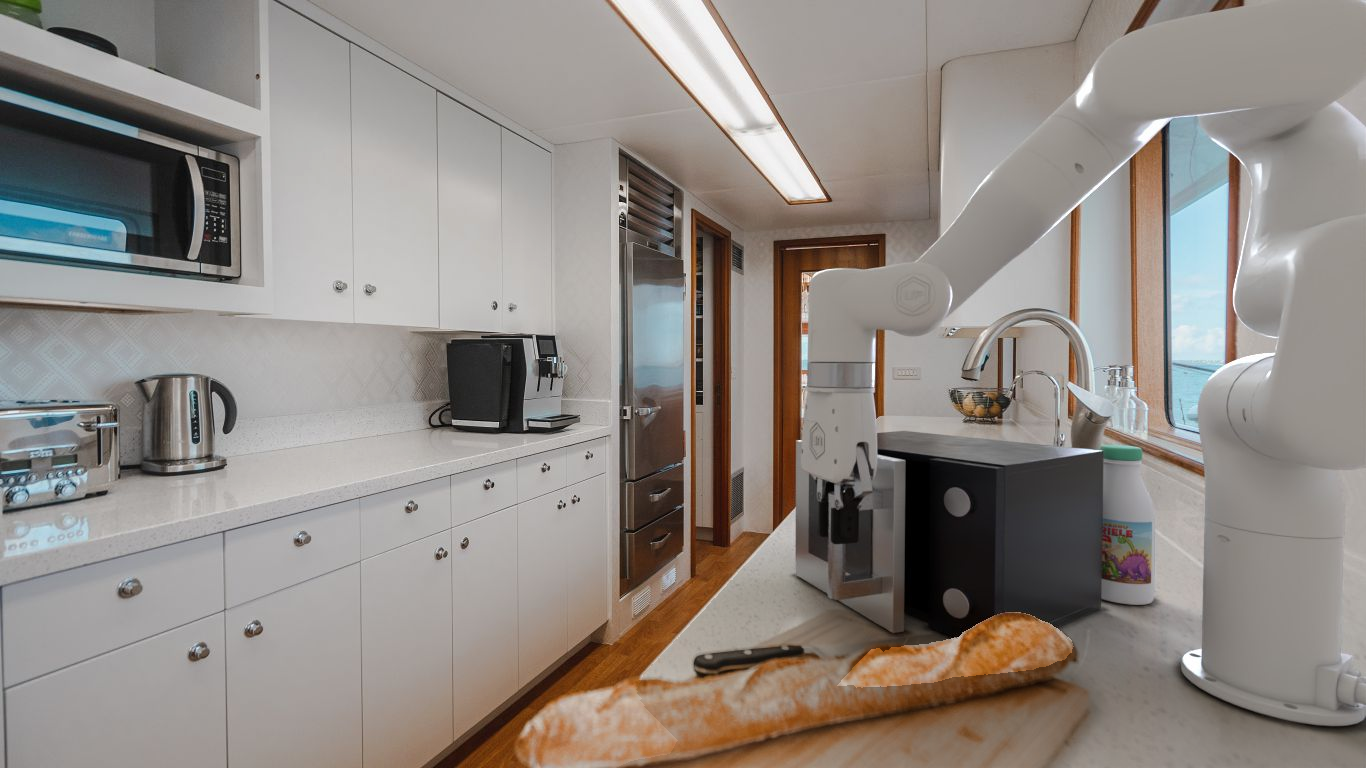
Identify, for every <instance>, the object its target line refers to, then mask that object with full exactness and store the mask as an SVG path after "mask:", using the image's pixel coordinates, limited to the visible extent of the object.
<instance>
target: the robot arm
mask: <svg viewBox="0 0 1366 768" xmlns="http://www.w3.org/2000/svg"><path fill="white" fill-rule="evenodd" d="M1365 80H1366V0H1269V1H1263V2H1258V3H1251V4H1248V5H1242V6H1236V7H1231V8H1225V9H1220V10H1215V11H1210V12H1209V11H1208V12H1204V13H1199V14H1194V15H1188V16H1184V17H1178V18H1174V19H1170V20H1165V21H1161V22H1157V23H1154V24H1151V25H1147V26H1145V27H1141V28H1138V29H1136V30H1133V31H1130V32H1128V33H1127V34H1125V35H1123V36H1121V37H1119V38H1117V39H1116V40H1114V41H1113V42H1112V43H1111V44H1110V45H1108V46H1107V47H1105V49H1104V50H1103V51H1102V52H1101V53H1100V55H1099V56H1098V57H1097V59H1096V60H1095V62H1094V64H1093V65H1092V67H1091V68H1090V71H1089V72H1088V73H1087V75H1086V77H1085V78H1084V80H1083V82H1082V83H1081V84H1080V85H1079V86H1078V87H1077V89H1076V90H1074V92H1072V94H1071V95H1070V96H1069V97H1067V99H1066V100H1065V101H1063V103H1062V104H1061V105H1059V106H1058V107H1057V109H1055V110H1054V111H1053V112H1052V113H1051V114H1050V115H1049V116H1048V117H1047V118H1046V119H1045V120H1043V122H1042V123H1041V124H1040V125H1039V126H1038V127H1037V128H1036V129H1034V130H1033V132H1031V133H1030V134H1029V135H1028V136H1027V137H1026V138H1025V139H1024V140H1022V142H1021V143H1020V144H1019V145H1018V146H1017V147H1016V148H1015V149H1014V150H1013V151H1011V152H1010V153H1009V154H1008V155H1007V156H1006V157H1005V158H1004V159H1003V160H1002V161H1001V162H999V164H997V165H996V166H995V167H994V168H993V169H992V170H991V171H990V172H989V173H988V175H987V176H986V177H985V178H984V179H983V181H981V183H980V184H979V185H978V186H977V188H976V189H975V190H974V192H973V194H972V195H971V197H970V198H969V199H968V201H967V202H966V204H965V206H964V207H963V209H962V211H961V212H960V213H959V214H958V216H957V217H956V218H955V220H954V221H953V222H952V223H951V224H950V226H949V227H948V228H947V229H946V231H944V233H942V235H940V237H939V238H938V239H937V240H936V241H935V242H934V243H933V244H932V245H931V246H930V247H929V248H928V249H927V250H925V252H924V253H923V254H922V255H921V256H919V257H918V259H917V260H915V261H909V262H908V261H907V262H902V263H896V264H891V265H884V266H879V267H873V268H872V267H871V268H867V269H866V268H865V269H862V268H849V267H843V268H831V269H824V270H820V271H818V272H816V273H814V274H813V275H811V276H812V277H811V278H810V280H809V283H808V300H807V301H808V305H807V306H808V307H807V309H808V312H807V315H808V316H807V360H806V361H807V364H806V365H807V370H806V373H807V374H806V397H805V403H804V410H803V419H802V431H801V440H802V444H801V466H802V468H803V470H804V471H806V472H807V473H809V474H811V475H812V477H813V478H814V480H815V483H816V485H817V499H818V501H822V502H819V513H818V534H819V535H820V536H821V537H828V493H829V492H834V504H835V508H831V542H832V543H833V544H849V543H857V542H858V539H859V509H860V508H861V506H862V499H863V498H864V497H865V496H867V495H869V494H871V493H872V492H873V487H872V482H871V481H872V480H873V479H874V477H875V475H876V469H877V433H878V429H877V414H876V413H877V412H876V404H875V396H874V393H876V355H877V353H876V351H877V350H876V349H877V330H881V331H893V332H895V333H896V334H898V335H900V336H905V337H921V336H924V335H927V334H929V333H931V332H933V331H934V330H936V328H938V327H939V326H940V325H941V324H942V323H943V322H945V320H946V319H948V318H949V317H950V316H951V315H952V314H954V312H955V311H957V310H958V309H959V308H960V307H961V306H962V305H963V304H964V303H965V302H966V301H968V300H969V299H970V298H971V297H972V296H973V295H974V294H975V293H976V292H978V290H980V289H981V288H982V287H983V286H984V285H985V284H986V283H987V282H989V281H990V280H991V279H992V278H993V277H994V276H995V275H997V273H999V272H1000V271H1001V270H1002V269H1004V267H1006V266H1007V265H1009V263H1011V262H1012V261H1013V260H1015V259H1016V258H1017V257H1019V256H1020V255H1022V254H1023V253H1025V252H1026V251H1027V250H1029V249H1030V248H1032V246H1034V245H1035V244H1036V243H1037V242H1039V241H1040V240H1041V239H1042V238H1043V237H1045V236H1046V234H1047V233H1048V232H1050V231H1051V230H1052V229H1054V227H1055V226H1057V225H1058V224H1059V223H1060V222H1061V221H1062V220H1063V219H1064V218H1065V217H1066V216H1068V214H1070V213H1071V212H1072V211H1073V210H1075V208H1076V207H1078V205H1079V204H1081V203H1082V202H1083V201H1084V200H1085V199H1086V198H1087V197H1088V196H1089V195H1090V194H1092V193H1093V192H1094V191H1095V190H1097V188H1098V187H1100V186H1101V185H1102V184H1103V183H1104V182H1105V181H1106V180H1108V179H1109V177H1111V176H1112V175H1113V174H1114V173H1116V172H1117V170H1118V169H1120V168H1121V167H1122V166H1124V164H1126V162H1127V161H1129V160H1130V159H1131V158H1133V156H1134V155H1135V154H1137V153H1138V152H1139V151H1140V150H1141V149H1142V148H1143V147H1144V146H1145V145H1146V144H1148V143H1149V142H1150V141H1151V140H1152V139H1153V138H1154V137H1155V136H1157V134H1158V133H1159V132H1160V131H1161V130H1162V129H1163V128H1164V127H1165V126H1166V125H1167V124H1168V123H1169V122H1171V120H1172V119H1177V118H1186V117H1196V116H1197V121H1198V124H1199V126H1200V128H1201V129H1202V131H1203V132H1204V134H1205V135H1206V136H1207V137H1208V138H1209V139H1210V140H1211V141H1213V142H1214V143H1216V144H1217V145H1218V146H1220V147H1222V148H1224V149H1225V150H1227V152H1228V153H1231V154H1232V155H1233V156H1234V157H1236V158H1237V159H1238V160H1239V162H1240V163H1241V164H1242V165H1243V167H1244V168H1245V170H1246V172H1247V173H1248V176H1249V180H1250V188H1251V192H1250V203H1249V212H1248V220H1247V224H1246V229H1245V233H1244V238H1243V244H1242V247H1241V248H1242V249H1241V253H1240V258H1239V262H1238V267H1237V272H1236V277H1235V281H1234V285H1233V291H1232V304H1233V309H1234V312H1235V314H1236V316H1237V318H1238V320H1240V322H1241V323H1242V324H1243V325H1244V326H1245V327H1246V328H1247V329H1249V330H1250V331H1253V332H1254V333H1257V334H1258V335H1262V336H1264V337H1268V338H1274V339H1277V341H1276V345H1275V352H1272V353H1271V352H1270V353H1269V352H1268V353H1259V354H1253V355H1248V356H1244V357H1241V358H1238V359H1235V360H1233V361H1231V362H1229V363H1226V364H1224V365H1223V366H1222V367H1220V368H1219V369H1217V370H1216V371H1215V372H1214V373H1213V374H1212V375H1211V376H1210V377H1209V378H1208V380H1207V381H1206V382H1205V384H1204V385H1203V387H1202V389H1201V392H1200V394H1199V398H1198V403H1197V427H1198V433H1199V440H1200V445H1201V452H1202V460H1203V471H1204V472H1203V473H1204V517H1203V562H1202V564H1203V565H1202V607H1201V608H1202V611H1201V612H1202V614H1201V648H1200V649H1193V650H1190V651H1187V652H1185V653H1184V654H1182V655H1181V658H1180V667H1181V668H1180V669H1181V672H1182V674H1183V675H1184V677H1185V678H1186V679H1187V680H1189V681H1190V683H1192V684H1194V686H1196V687H1198V688H1199V689H1201V690H1202V691H1204V692H1206V693H1208V694H1210V695H1211V696H1213V697H1216V698H1218V699H1219V700H1222V701H1224V702H1227V703H1229V704H1231V705H1234V706H1237V707H1239V708H1242V709H1246V710H1248V711H1252V712H1255V713H1257V714H1260V715H1263V716H1264V715H1265V716H1268V717H1272V718H1275V719H1279V720H1286V721H1289V722H1295V723H1298V724H1299V723H1300V724H1305V725H1312V726H1322V727H1323V726H1324V727H1346V726H1347V727H1348V726H1352V725H1357V724H1359V723H1361V722H1363V721H1364V720H1365V718H1366V676H1364V675H1362V674H1361V671H1359V670H1356V669H1353V663H1354V661H1353V660H1354V658H1353V657H1354V656H1353V655H1351V654H1347V653H1344V652H1342V643H1343V641H1342V638H1343V604H1344V603H1343V602H1344V601H1343V600H1344V599H1343V598H1344V566H1345V565H1344V562H1345V560H1344V559H1345V535H1346V504H1345V495H1344V490H1343V485H1342V481H1341V477H1340V473H1339V471H1355V470H1360V469H1366V126H1365V124H1364V123H1363V122H1362V121H1360V120H1359V119H1358V118H1357V116H1355V115H1354V114H1353V113H1351V112H1350V111H1349V110H1348V109H1347V108H1345V107H1344V106H1343V105H1342V104H1340V103H1339V102H1337V101H1338V100H1340V99H1341V98H1343V97H1345V96H1346V95H1347V94H1348V93H1350V92H1352V90H1354V89H1355V88H1357V87H1358V86H1359V85H1361V84H1362V83H1363V82H1364V81H1365ZM849 476H850V477H853V479H852V480H843V479H848V478H849ZM850 486H852V487H851V488H847V489H846V491H845V492H844V487H850Z"/></svg>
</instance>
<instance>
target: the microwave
mask: <svg viewBox="0 0 1366 768" xmlns="http://www.w3.org/2000/svg"><path fill="white" fill-rule="evenodd" d="M877 455H882V456H887V457H892V458H897V459H902V460H905V461H906V468H905V579H904V614H907V615H910V616H913V617H915V618H918V619H920V620H922V621H925V622H928V623H927V624H928V625H927V627H928V628H931V629H933V630H935V631H938V632H939V633H942V634H946V635H948V636H951V637H952V638H956V639H958V638H957V637H959V636H960V635H961V634H962V632H964V631H966V630H968V629H970V628H972V627H973V626H975V625H976V624H978V623H980V622H982V621H984V620H986V619H988V618H990V617H992V616H994V615H997V614H1000V613H1005V612H1021V613H1026V614H1030V615H1032V616H1035V617H1036V618H1038V619H1040V620H1042V621H1045V622H1048V623H1050V624H1052V625H1053V626H1054V627H1056V628H1055V629H1057V628H1060V627H1062V626H1064V625H1067V624H1069V623H1071V622H1073V621H1075V620H1078V619H1081V618H1083V617H1085V616H1088V615H1090V614H1092V613H1094V612H1096V611H1099V610H1101V609H1102V599H1101V585H1102V525H1103V465H1104V459H1103V458H1104V451H1101V450H1100V449H1091V448H1080V447H1070V446H1061V445H1060V446H1059V445H1051V444H1041V443H1040V444H1039V443H1029V442H1020V441H1012V440H1011V441H1009V440H1002V439H1001V440H999V439H992V438H991V439H989V438H979V437H971V436H970V437H969V436H960V435H950V434H940V433H939V434H938V433H931V432H930V433H929V432H919V431H910V430H898V431H897V430H896V431H885V432H877Z"/></svg>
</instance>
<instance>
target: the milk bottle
mask: <svg viewBox="0 0 1366 768" xmlns="http://www.w3.org/2000/svg"><path fill="white" fill-rule="evenodd" d="M1099 450H1101V451H1104V458H1103V459H1104V465H1103V525H1102V585H1101V600H1104V601H1108V602H1111V603H1117V604H1124V605H1132V606H1133V605H1135V606H1141V605H1148V604H1152V603H1153V601H1154V599H1155V592H1156V591H1155V589H1156V585H1155V584H1156V536H1157V535H1156V533H1157V531H1156V529H1157V528H1156V511H1155V506H1154V502H1153V499H1152V497H1151V495H1150V493H1149V491H1148V489H1147V487H1146V485H1145V483H1144V481H1143V477H1142V474H1141V467H1140V466H1141V465H1142V464H1143V462H1142V460H1143V448H1141V447H1140V446H1139V447H1138V446H1134V445H1124V444H1103V445H1101V446H1100V447H1099Z"/></svg>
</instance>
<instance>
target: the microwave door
mask: <svg viewBox="0 0 1366 768" xmlns="http://www.w3.org/2000/svg"><path fill="white" fill-rule="evenodd" d="M801 444H802V439H801V440H800V439H798V440H797V439H796V440H795V561H794V562H795V572H794V574H795V576H797V577H798V578H800V579H802V580H803V581H805V582H807V583H809V584H810V585H811V586H814V587H815V588H816V589H818V590H820V591H822V592H823V593H825V594H827V597H828V598H829V599H830V600H834V601H838V602H840V603H842V604H844V605H845V606H847V607H848V608H850V609H851V610H853V611H855V612H857V613H859V614H860V615H862V616H863V617H865V618H867V619H868V620H870V621H872V622H873V623H875V624H877V625H878V626H880V627H882V628H883V629H885V630H887V631H888V632H890V633H892V634H897V633H902V632H905V613H904V579H905V468H906V461H905V460H902V459H897V458H892V457H887V456H882V455H877V469H876V475H875V477H874V479H873V480H872V481H871V482H872V487H873V492H872V493H871V494H869V495H867V496H865V497H864V498H863V499H862V506H861V508H860V509H859V539H858V542H857V543H849V544H833V543H832V542H831V508H835V504H834V492H829V493H828V537H821V536H820V535H819V534H818V513H819V502H822V501H818V499H817V485H816V483H815V480H814V478H813V477H812V475H811V474H809V473H807V472H806V471H804V470H803V468H802V466H801ZM852 479H853V477H850V476H849V478H848V479H843V480H852ZM851 487H852V486H850V487H844V492H845V491H846V489H847V488H851Z"/></svg>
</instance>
